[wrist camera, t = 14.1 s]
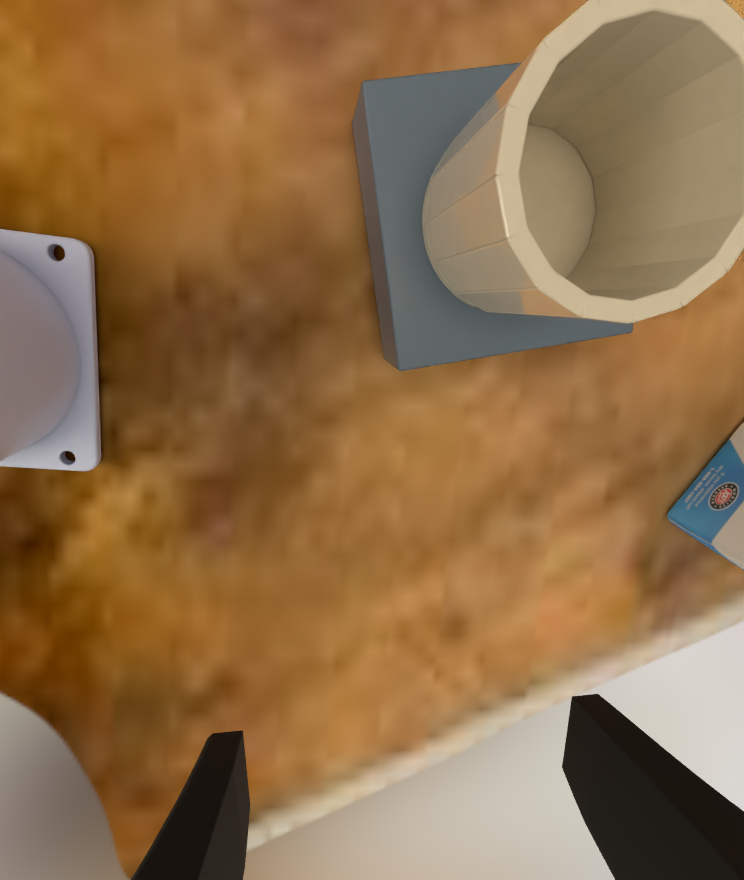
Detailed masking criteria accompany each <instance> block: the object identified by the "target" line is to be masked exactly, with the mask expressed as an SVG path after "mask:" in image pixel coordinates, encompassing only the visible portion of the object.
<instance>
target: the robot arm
mask: <svg viewBox="0 0 744 880" xmlns="http://www.w3.org/2000/svg"><path fill="white" fill-rule="evenodd" d="M58 245H60V246H61V247H62V248H63V249H64V251H65V257H64V259H63V260H61V261H58V260H57V259H56V258H55V256H54V253H53V252H54V248H55V247H56V246H58ZM66 451H70V452H72V453H73V454H74V455H75V458H76V460H75V461H70V460H69V459H67V458H66V455H65V452H66ZM100 461H101V433H100V406H99V379H98V351H97V324H96V297H95V269H94V255H93V251H92V250H91V248H90V247H89V245H87V244H86V243H85V242H83V241H80V240H77V239H73V238H66V237H58V236H51V235H43V234H35V233H28V232H20V231H12V230H5V229H0V466H6V467H22V468H38V469H54V470H70V471H90V470H92V469H94V468H95V467H96V466H98V464H99V463H100ZM562 768H563V771H564V773H565V775H566V778H567V781H568V783H569V786H570V788H571V791H572V793H573V796H574V798H575V800H576V803H577V805H578V807H579V809H580V812H581V814H582V817H583V819H584V821H585V823H586V825H587V827H588V829H589V831H590V833H591V835H592V837H593V839H594V841H595V842H596V844H597V846H598V848H599V850H600V852H601V854H602V856H603V857H604V859H605V861H606V863H607V865H608V867H609V869H610V870H611V873H612V874H613V876H614V878H615V880H744V811H742V810H741V809H740V808H738V807H737V806H736V805H734V804H733V803H732V802H730V801H729V800H728V799H726V798H725V797H724V796H722V795H721V794H720V793H719V792H717V791H716V790H715V789H714V788H712V787H711V786H710V785H708V784H707V783H706V782H705V781H703V780H702V779H701V778H699V777H698V776H697V775H696V774H694V773H693V772H692V771H691V770H689V769H688V768H687V767H686V766H685V765H683V764H682V763H681V762H680V761H678V760H677V759H676V758H675V757H673V756H672V755H671V754H670V753H668V752H667V751H666V750H665V749H664V748H662V747H661V746H660V745H659V744H658V743H656V742H655V741H654V740H653V739H652V738H650V737H649V736H648V735H647V734H646V733H644V732H643V731H642V730H641V729H640V728H638V727H637V726H636V725H635V724H634V723H632V722H631V721H630V720H629V719H628V718H626V717H625V716H624V715H623V714H622V713H620V712H619V711H618V710H617V709H616V708H614V707H613V706H612V705H611V704H610V703H608V702H607V701H606V700H604V699H603V698H602V697H601V696H600V695H598V694H593V695H583V696H573V697H572V701H571V709H570V716H569V722H568V730H567V737H566V744H565V751H564V758H563V765H562ZM249 812H250V799H249V789H248V779H247V769H246V759H245V748H244V738H243V731H233V732H224V733H214V734H212V735H211V736H210V737H209V738H208V739H207V741H206V743H205V745H204V747H203V749H202V752H201V754H200V756H199V758H198V760H197V762H196V764H195V766H194V768H193V770H192V772H191V774H190V776H189V778H188V780H187V782H186V784H185V786H184V788H183V790H182V792H181V794H180V795H179V797H178V799H177V801H176V803H175V805H174V807H173V809H172V810H171V812H170V814H169V816H168V817H167V819H166V821H165V823H164V824H163V826H162V828H161V830H160V831H159V833H158V835H157V837H156V839H155V840H154V842H153V844H152V846H151V847H150V849H149V851H148V853H147V854H146V856H145V858H144V859H143V861H142V863H141V864H140V866H139V867H138V869H137V871H136V872H135V874H134V875H133V877H132V879H131V880H243V874H244V869H245V858H246V848H247V837H248V825H249Z"/></svg>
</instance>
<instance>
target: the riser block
mask: <svg viewBox="0 0 744 880" xmlns="http://www.w3.org/2000/svg"><path fill="white" fill-rule="evenodd" d="M520 64H521V63H513V64H505V65H496V66H488V67H479V68H470V69H462V70H453V71H445V72H436V73H428V74H419V75H410V76H402V77H393V78H385V79H376V80H367V81H363V82H362V84H361V89H360V93H359V97H358V101H357V105H356V109H355V114H354V118H353V122H352V128H353V135H354V143H355V150H356V157H357V165H358V172H359V179H360V187H361V194H362V201H363V208H364V216H365V223H366V230H367V238H368V245H369V252H370V260H371V267H372V274H373V282H374V289H375V296H376V303H377V311H378V318H379V325H380V333H381V340H382V347H383V355H384V359H385V360H386V361H387V362H389V363H390V364H391V365H392V366H394V367H395V368H396V369H398V370H399V371H405V370H411V369H417V368H423V367H429V366H435V365H441V364H447V363H453V362H459V361H465V360H471V359H477V358H483V357H489V356H495V355H501V354H507V353H513V352H519V351H525V350H531V349H537V348H543V347H549V346H555V345H561V344H567V343H573V342H579V341H585V340H591V339H597V338H603V337H609V336H615V335H621V334H627V333H631V332H632V331H633V323H628V324H624V323H610V322H596V321H582V320H567V319H553V318H539V317H525V316H513V315H505V314H494V313H489V312H484V311H481V310H479V309H476V308H473V307H471V306H469V305H468V304H466V303H464V302H463V301H461V300H460V299H458V298H457V297H456V296H454V295H453V294H452V293H451V292H450V291H449V290H448V289H447V288H446V287H445V285H444V284H443V283H442V282H441V280H440V279H439V277H438V276H437V274H436V272H435V271H434V269H433V267H432V264H431V262H430V260H429V258H428V254H427V251H426V248H425V243H424V237H423V229H422V213H423V203H424V198H425V193H426V189H427V186H428V183H429V180H430V178H431V175H432V173H433V171H434V169H435V167H436V165H437V163H438V162H439V160H440V158H441V157H442V155H443V154H444V153H445V151H446V150H447V148H448V146H449V145H450V143H451V142H452V141H453V139H454V138H455V137H456V136H457V135H458V134H459V133H460V131H461V130H462V129H463V128H464V127H465V126H466V125H467V124H468V122H469V121H470V120H471V119H472V118H473V117H474V116H475V115H476V113H477V112H478V111H479V110H480V109H481V108H482V107H483V106H484V105H485V103H486V102H487V101H488V100H489V99H490V98H491V97H492V96H493V94H494V93H495V92H496V91H497V90H498V89H499V88H500V87H501V85H502V84H503V83H504V82H505V81H506V80H507V79H508V78H509V76H510V75H511V74H512V73H513V72H514V71H515V70H516V69H517V67H518V66H519V65H520Z"/></svg>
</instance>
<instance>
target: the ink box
mask: <svg viewBox="0 0 744 880" xmlns="http://www.w3.org/2000/svg"><path fill="white" fill-rule="evenodd" d="M667 517H668V520H669V521H670V522H671V523H673V524H674V525H675V526H677V527H678V528H680V529H681V530H683V531H684V532H686V533H687V534H689V535H690V536H692V537H693V538H695V539H696V540H698V541H699V542H701V543H702V544H704V545H705V546H707V547H708V548H710V549H711V550H713V551H714V552H716V553H717V554H719V555H721V556H722V557H724V558H725V559H727V560H729V561H730V562H732V563H733V564H735V565H736V566H738V567H740V568H741V569H743V570H744V422H743V423H742V424H741V425H740V426H739V427H738V429H737V430H736V431H735V432H734V434H733V435H732V436H731V437H730V438H729V440H728V441H727V442H726V443H725V445H724V446H723V447H722V448H721V449H720V450H719V452H718V453H717V454H716V455H715V457H714V458H713V459H712V460H711V461H710V463H709V464H708V465H707V466H706V467H705V469H704V470H703V471H702V472H701V473H700V475H699V476H698V477H697V478H696V479H695V481H694V482H693V483H692V484H691V485H690V487H689V488H688V489H687V490H686V491H685V493H684V494H683V495H682V496H681V497H680V499H679V500H678V501H677V502H676V503H675V505H674V506H673V507H672V508H671V510H670V511H669V512H668V514H667Z"/></svg>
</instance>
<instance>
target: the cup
mask: <svg viewBox="0 0 744 880" xmlns="http://www.w3.org/2000/svg"><path fill="white" fill-rule="evenodd" d="M422 229H423V237H424V243H425V248H426V251H427V254H428V258H429V260H430V262H431V264H432V267H433V269H434V271H435V272H436V274H437V276H438V277H439V279H440V280H441V282H442V283H443V284H444V285H445V287H446V288H447V289H448V290H449V291H450V292H451V293H452V294H453V295H454V296H456V297H457V298H458V299H460V300H461V301H463V302H464V303H466V304H468V305H469V306H471V307H473V308H476V309H479V310H481V311H484V312H489V313H494V314H505V315H513V316H525V317H539V318H553V319H567V320H582V321H596V322H610V323H624V324H628V323H635V322H639V321H642V320H645V319H648V318H652V317H655V316H658V315H661V314H665V313H668V312H671V311H674V310H678V309H680V308H681V307H684V306H685V305H686V304H688V303H689V302H690V301H692V300H693V299H694V298H695V297H697V296H698V295H699V294H701V293H702V292H703V291H704V290H706V289H707V288H708V287H710V286H711V285H712V284H713V283H715V282H716V281H717V280H719V279H720V278H721V277H722V276H724V275H725V274H726V273H727V272H728V271H729V270H730V269H731V267H732V266H733V264H734V263H735V261H736V260H737V258H738V257H739V255H740V254H741V252H742V251H743V249H744V19H743V18H742V17H741V16H740V15H739V14H738V13H737V12H736V11H735V10H734V9H733V8H732V7H731V6H730V5H729V4H728V3H727V2H726V1H725V0H588V1H586V2H585V3H584V4H583V5H582V6H581V7H579V8H578V9H577V10H576V11H575V12H574V13H572V14H571V15H570V16H569V17H568V18H567V19H565V20H564V21H563V22H562V23H561V24H560V25H558V26H557V27H556V28H555V29H554V30H553V31H551V32H550V33H549V34H548V35H547V36H545V37H544V38H543V39H542V40H541V42H540V43H539V44H538V45H537V46H536V47H535V48H534V49H533V51H532V52H531V53H530V54H529V55H528V56H527V57H526V58H525V60H524V61H523V62H522V63H521V64H520V65H519V66H518V67H517V69H516V70H515V71H514V72H513V73H512V74H511V75H510V76H509V78H508V79H507V80H506V81H505V82H504V83H503V84H502V85H501V87H500V88H499V89H498V90H497V91H496V92H495V93H494V94H493V96H492V97H491V98H490V99H489V100H488V101H487V102H486V103H485V105H484V106H483V107H482V108H481V109H480V110H479V111H478V112H477V113H476V115H475V116H474V117H473V118H472V119H471V120H470V121H469V122H468V124H467V125H466V126H465V127H464V128H463V129H462V130H461V131H460V133H459V134H458V135H457V136H456V137H455V138H454V139H453V141H452V142H451V143H450V145H449V146H448V148H447V150H446V151H445V153H444V154H443V155H442V157H441V158H440V160H439V162H438V163H437V165H436V167H435V169H434V171H433V173H432V175H431V178H430V180H429V183H428V186H427V189H426V193H425V198H424V203H423V213H422Z"/></svg>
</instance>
